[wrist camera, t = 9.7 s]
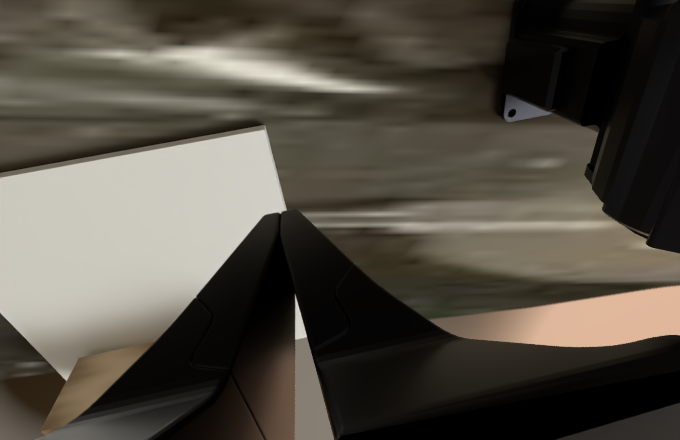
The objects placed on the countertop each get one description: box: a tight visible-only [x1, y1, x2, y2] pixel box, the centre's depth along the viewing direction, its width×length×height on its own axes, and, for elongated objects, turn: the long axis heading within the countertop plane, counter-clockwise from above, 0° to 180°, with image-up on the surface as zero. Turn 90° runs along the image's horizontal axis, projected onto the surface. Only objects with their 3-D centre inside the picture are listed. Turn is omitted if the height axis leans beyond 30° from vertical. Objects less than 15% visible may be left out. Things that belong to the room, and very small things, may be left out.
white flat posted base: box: [0, 125, 307, 381], centre depth 21 cm, size 19×17×7 cm
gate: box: [41, 341, 155, 435], centre depth 23 cm, size 14×2×6 cm, turn 98°
